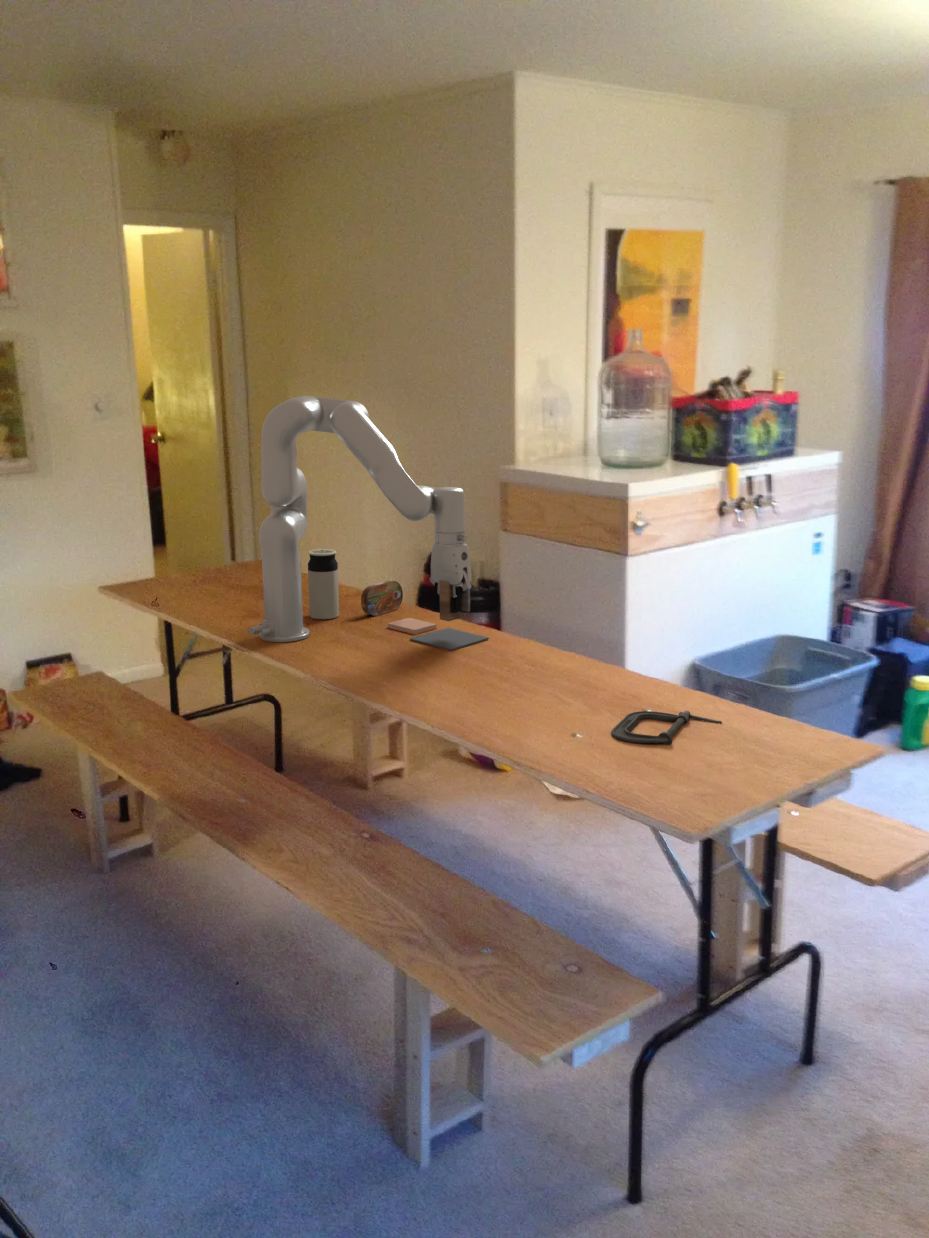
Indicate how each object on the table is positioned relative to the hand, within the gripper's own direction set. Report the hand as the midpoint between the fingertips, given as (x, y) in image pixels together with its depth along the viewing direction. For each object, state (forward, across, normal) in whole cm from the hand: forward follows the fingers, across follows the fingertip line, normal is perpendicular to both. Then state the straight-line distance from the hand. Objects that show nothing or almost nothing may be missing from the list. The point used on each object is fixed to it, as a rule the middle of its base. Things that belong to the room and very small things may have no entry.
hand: (450, 610), depth 266 cm
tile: (+7, +15, +2) cm, 17 cm away
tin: (+8, +33, -8) cm, 35 cm away
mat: (+8, 0, 0) cm, 8 cm away
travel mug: (+8, +41, +6) cm, 42 cm away
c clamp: (+9, -74, +19) cm, 77 cm away
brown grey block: (+2, 0, 0) cm, 2 cm away
